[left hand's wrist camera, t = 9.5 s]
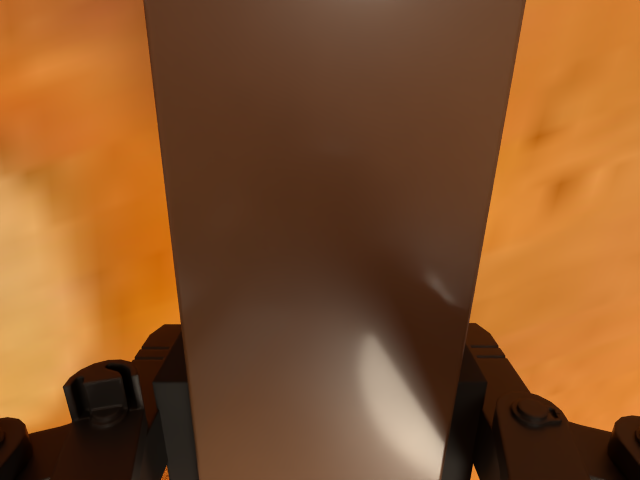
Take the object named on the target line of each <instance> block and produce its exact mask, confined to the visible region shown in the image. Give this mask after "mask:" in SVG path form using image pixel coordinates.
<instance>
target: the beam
mask: <svg viewBox="0 0 640 480" xmlns="http://www.w3.org/2000/svg"><path fill="white" fill-rule="evenodd" d="M143 2H144V11H145V19H146V28H147V36H148V45H149V54H150V62H151V71H152V79H153V88H154V97H155V105H156V114H157V122H158V131H159V139H160V148H161V157H162V165H163V174H164V182H165V191H166V200H167V208H168V217H169V225H170V234H171V243H172V251H173V260H174V268H175V277H176V285H177V294H178V303H179V311H180V320H181V328H182V337H183V346H184V354H185V363H186V371H187V380H188V389H189V397H190V406H191V414H192V423H193V431H194V440H195V449H196V457H197V466H198V474H199V480H441V478H442V472H443V466H444V461H445V455H446V449H447V444H448V438H449V432H450V427H451V421H452V415H453V410H454V404H455V398H456V393H457V387H458V381H459V376H460V370H461V365H462V359H463V353H464V348H465V342H466V336H467V331H468V325H469V319H470V314H471V308H472V302H473V297H474V291H475V285H476V280H477V274H478V268H479V263H480V257H481V251H482V246H483V240H484V234H485V229H486V223H487V217H488V212H489V206H490V200H491V195H492V189H493V183H494V178H495V172H496V166H497V161H498V155H499V150H500V144H501V138H502V133H503V127H504V121H505V116H506V110H507V104H508V99H509V93H510V87H511V82H512V76H513V70H514V65H515V59H516V53H517V48H518V42H519V36H520V31H521V25H522V19H523V14H524V8H525V2H526V0H143Z"/></svg>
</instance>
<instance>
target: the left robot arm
mask: <svg viewBox="0 0 640 480" xmlns="http://www.w3.org/2000/svg"><path fill="white" fill-rule="evenodd" d="M63 389H64V393H65V396H66V400H67V404H68V407H69V411H70V415H71V418H72V423H70V424H67V425H64V426H61V427H56V428H52V429H48V430H44V431H39V432H35V433H31V434H28V432H27V429H26V426H25V424H24V423H23V422H22V421H21V420H19V419H16V418H9V417H6V418H0V480H161V478H162V475H163V473H164V470H165V468H166V465H167V468H168V474H169V479H170V480H199V474H198V466H197V457H196V449H195V440H194V431H193V423H192V414H191V406H190V397H189V389H188V380H187V371H186V363H185V354H184V346H183V337H182V328H181V324H164V325H163V326H161V327H160V328H159V329H157V330H156V331H155V332H153V333H152V334H150V336H149V337H148V338H147V340H146V341H145V343H144V344H143V346H142V349H141V350H139V352H138V353H137V355H136V356H135V360H133V361H132V362H129V361H125V360H106V361H102V362H98V363H94V364H92V365H90V366H88V367H86V368H83V369H81V370H80V371H78V372H77V373H76V374H74V375H73V376H72V377H70V378H69V379H68V381H67V382H66V383H65V385H64V386H63ZM473 464H474V466H475V469H476V471H477V474H478V476H479V479H480V480H640V416H633V415H632V416H626V417H621V418H620V419H619V420H618V421H616V422H615V425H614V428H613V431H612V432H608V431H604V430H600V429H595V428H591V427H587V426H582V425H579V424H575V423H572V422H569V421H568V420H567V418H566V417H565V415H564V414H563V412H562V411H561V410H560V409H559V408H558V407H556V406H555V405H554V404H553V403H552V402H550V401H548V400H546V399H544V398H542V397H540V396H538V395H535V394H532V393H530V391H529V390H528V389H527V387H526V386H525V384H524V383H523V381H522V380H521V378H520V377H519V375H518V374H517V372H516V371H515V369H514V368H513V366H512V365H511V364H510V362H509V361H508V359H507V358H505V355H504V353H503V352H502V350H501V349H500V348H498V344H497V343H496V342H495V340H494V339H493V337H492V336H491V334H490V333H489V332H487V331H486V330H484V329H483V328H482V327H480V326H479V325H478V324H476V323H469V325H468V331H467V336H466V342H465V348H464V353H463V359H462V365H461V370H460V376H459V381H458V387H457V393H456V398H455V404H454V410H453V415H452V421H451V427H450V432H449V438H448V444H447V449H446V455H445V461H444V466H443V472H442V478H441V480H470V478H471V472H472V467H473Z"/></svg>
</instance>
